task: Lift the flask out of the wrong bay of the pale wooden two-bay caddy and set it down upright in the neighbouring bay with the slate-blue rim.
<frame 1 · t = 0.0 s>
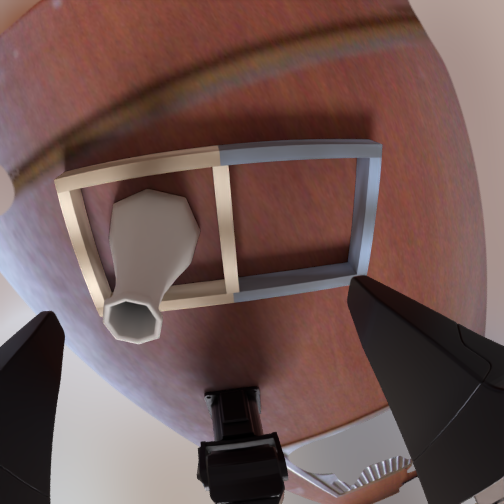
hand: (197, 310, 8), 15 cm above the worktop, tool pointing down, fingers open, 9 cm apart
caddy: (224, 223, 23), on the worktop
flask: (153, 231, 23), on the worktop
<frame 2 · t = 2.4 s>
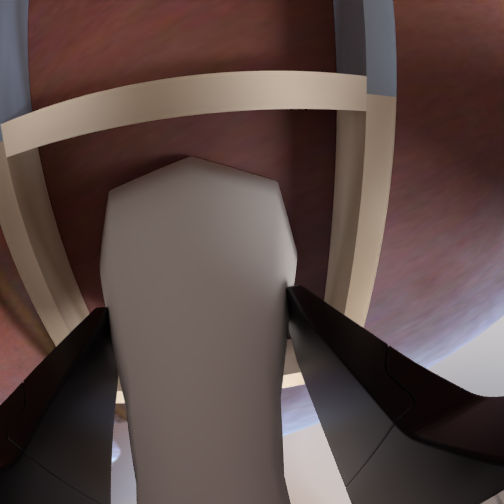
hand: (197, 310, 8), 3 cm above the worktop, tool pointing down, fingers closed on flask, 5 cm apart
caddy: (177, 96, 8), on the worktop
flask: (196, 252, 11), on the worktop, touching gripper
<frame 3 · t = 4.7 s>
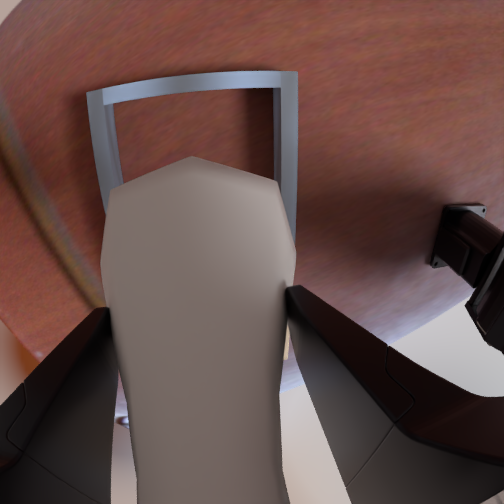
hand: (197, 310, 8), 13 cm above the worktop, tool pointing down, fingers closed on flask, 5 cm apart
caddy: (204, 243, 22), on the worktop
flask: (196, 251, 11), point 10 cm above the worktop, touching gripper
when the fingers open (4 cm above the worktop, at t = 7.2 s): flask stays where it is, on the worktop.
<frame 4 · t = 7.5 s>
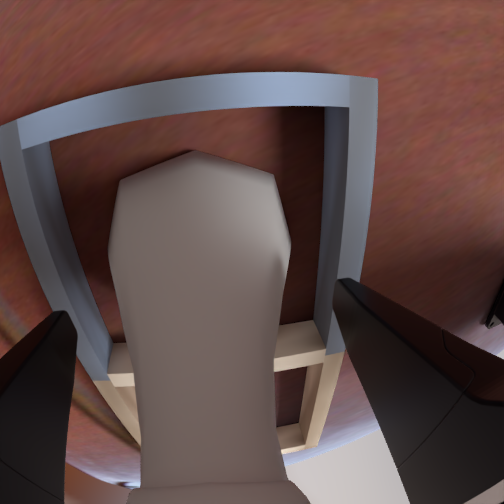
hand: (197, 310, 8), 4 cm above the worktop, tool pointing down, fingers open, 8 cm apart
caddy: (212, 341, 15), on the worktop
flask: (198, 239, 12), on the worktop
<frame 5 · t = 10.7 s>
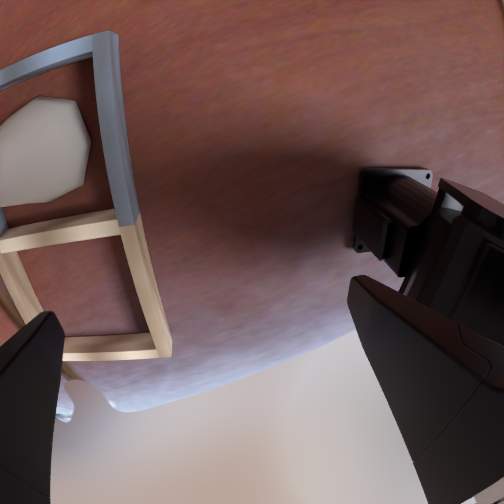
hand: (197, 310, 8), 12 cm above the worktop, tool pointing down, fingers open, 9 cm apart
caddy: (61, 224, 18), on the worktop
flask: (46, 147, 16), on the worktop
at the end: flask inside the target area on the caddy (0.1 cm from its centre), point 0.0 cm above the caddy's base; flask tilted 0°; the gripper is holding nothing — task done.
